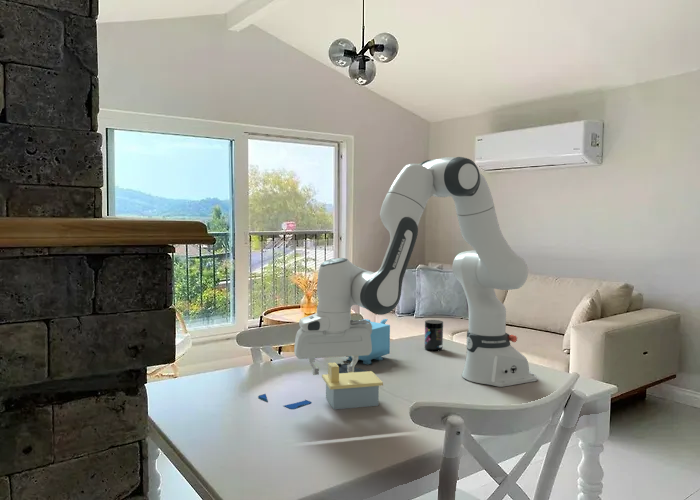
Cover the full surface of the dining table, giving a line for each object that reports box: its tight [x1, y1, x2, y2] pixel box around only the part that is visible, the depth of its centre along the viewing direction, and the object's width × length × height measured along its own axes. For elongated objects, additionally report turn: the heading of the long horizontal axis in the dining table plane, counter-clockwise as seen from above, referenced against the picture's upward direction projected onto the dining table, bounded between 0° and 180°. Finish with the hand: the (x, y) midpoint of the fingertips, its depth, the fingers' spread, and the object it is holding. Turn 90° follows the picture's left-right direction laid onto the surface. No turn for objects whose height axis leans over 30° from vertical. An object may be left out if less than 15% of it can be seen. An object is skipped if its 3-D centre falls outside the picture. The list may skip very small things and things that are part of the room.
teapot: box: [345, 318, 391, 365], centre depth 186 cm, size 22×11×14 cm, turn 141°
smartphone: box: [257, 393, 312, 410], centre depth 144 cm, size 7×1×15 cm
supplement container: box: [424, 319, 444, 352], centre depth 198 cm, size 7×7×10 cm
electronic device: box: [336, 362, 367, 373], centre depth 163 cm, size 9×6×15 cm
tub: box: [325, 383, 380, 411], centre depth 142 cm, size 12×9×6 cm
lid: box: [321, 362, 384, 390], centre depth 142 cm, size 14×10×6 cm
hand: (333, 373), depth 140 cm, fingers open, 8 cm apart
